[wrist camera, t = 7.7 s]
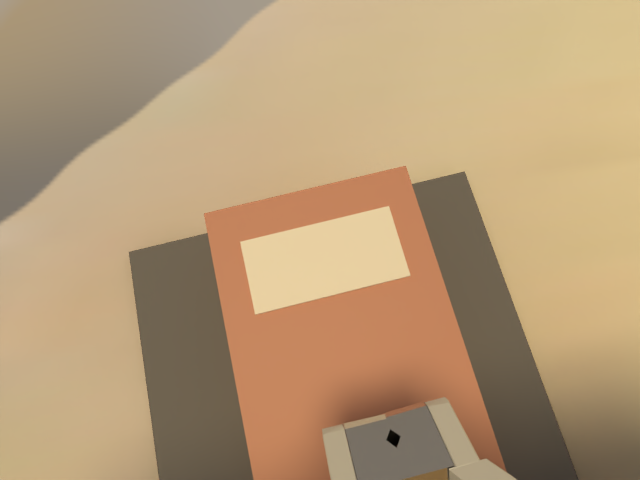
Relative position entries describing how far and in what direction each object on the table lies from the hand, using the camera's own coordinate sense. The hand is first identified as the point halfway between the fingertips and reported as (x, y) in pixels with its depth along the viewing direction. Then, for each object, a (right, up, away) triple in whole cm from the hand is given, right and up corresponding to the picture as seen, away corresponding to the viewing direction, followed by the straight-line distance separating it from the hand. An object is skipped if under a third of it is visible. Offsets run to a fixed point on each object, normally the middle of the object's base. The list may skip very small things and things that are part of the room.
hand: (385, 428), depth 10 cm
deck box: (0, -4, +3) cm, 5 cm away
